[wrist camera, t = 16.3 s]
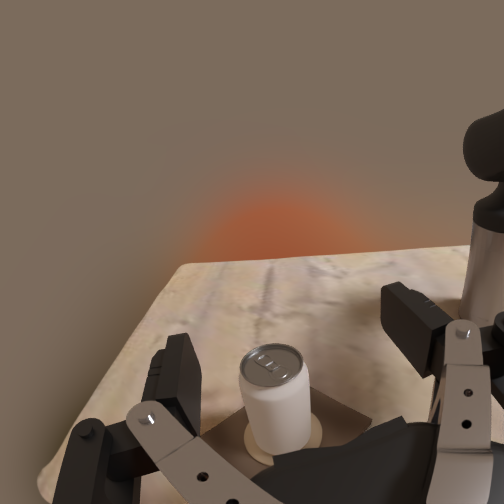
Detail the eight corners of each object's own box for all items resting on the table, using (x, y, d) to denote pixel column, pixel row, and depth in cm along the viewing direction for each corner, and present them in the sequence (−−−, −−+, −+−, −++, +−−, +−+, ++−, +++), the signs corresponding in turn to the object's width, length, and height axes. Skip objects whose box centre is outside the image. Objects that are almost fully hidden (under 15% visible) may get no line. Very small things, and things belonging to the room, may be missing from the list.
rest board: (288, 378, 40) (287, 371, 40) (371, 423, 30) (372, 417, 29) (196, 444, 31) (192, 438, 30) (276, 517, 21) (274, 514, 20)
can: (277, 467, 26) (263, 402, 21) (243, 432, 31) (221, 362, 26) (323, 434, 29) (323, 361, 24) (287, 405, 34) (277, 331, 30)
